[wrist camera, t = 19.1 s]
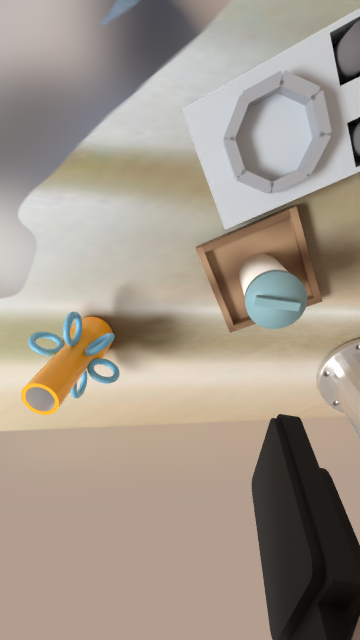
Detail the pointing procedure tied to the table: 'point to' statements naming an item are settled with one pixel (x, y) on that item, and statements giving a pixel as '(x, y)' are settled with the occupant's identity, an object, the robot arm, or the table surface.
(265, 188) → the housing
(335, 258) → the table surface
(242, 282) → the cylinder
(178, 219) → the table surface
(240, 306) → the tray
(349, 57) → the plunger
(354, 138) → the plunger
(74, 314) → the cylinder
